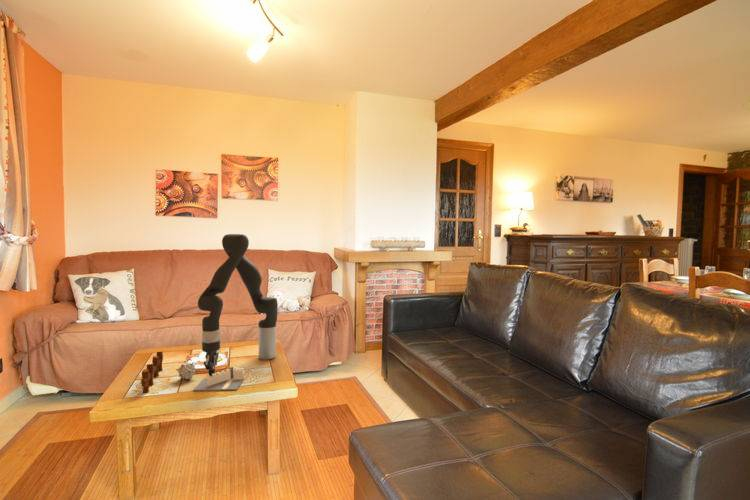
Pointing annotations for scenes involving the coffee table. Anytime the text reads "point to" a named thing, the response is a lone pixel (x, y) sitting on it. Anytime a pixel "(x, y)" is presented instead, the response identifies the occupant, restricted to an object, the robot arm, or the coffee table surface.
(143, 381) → the fence
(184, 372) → the grey spiky ball
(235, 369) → the fixed panel
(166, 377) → the coffee table surface
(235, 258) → the robot arm
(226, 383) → the card
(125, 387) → the coffee table surface
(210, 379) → the hinged panel
